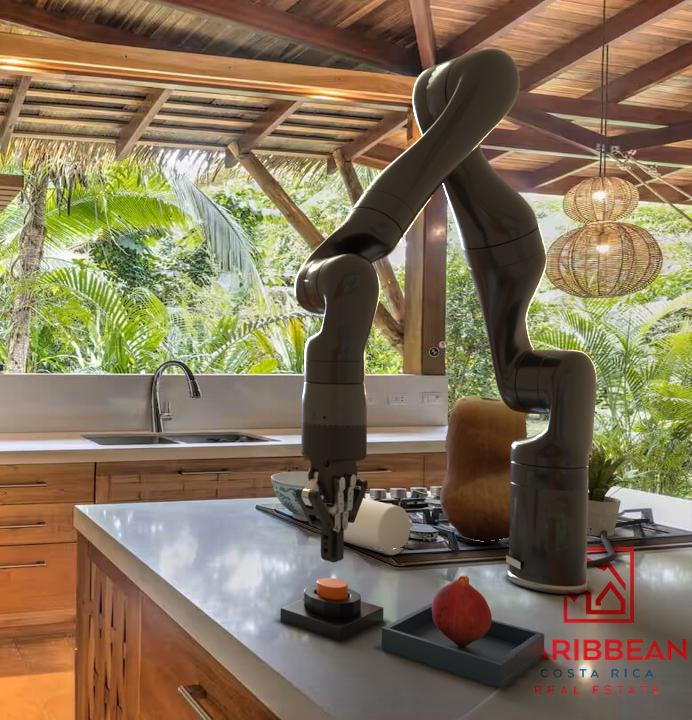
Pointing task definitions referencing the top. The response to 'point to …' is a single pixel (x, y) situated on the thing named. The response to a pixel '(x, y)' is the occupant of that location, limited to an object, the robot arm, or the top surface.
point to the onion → (461, 612)
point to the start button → (332, 588)
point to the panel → (332, 614)
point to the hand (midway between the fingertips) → (332, 559)
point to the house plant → (603, 492)
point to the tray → (465, 648)
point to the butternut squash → (480, 467)
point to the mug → (379, 527)
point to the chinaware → (290, 491)
